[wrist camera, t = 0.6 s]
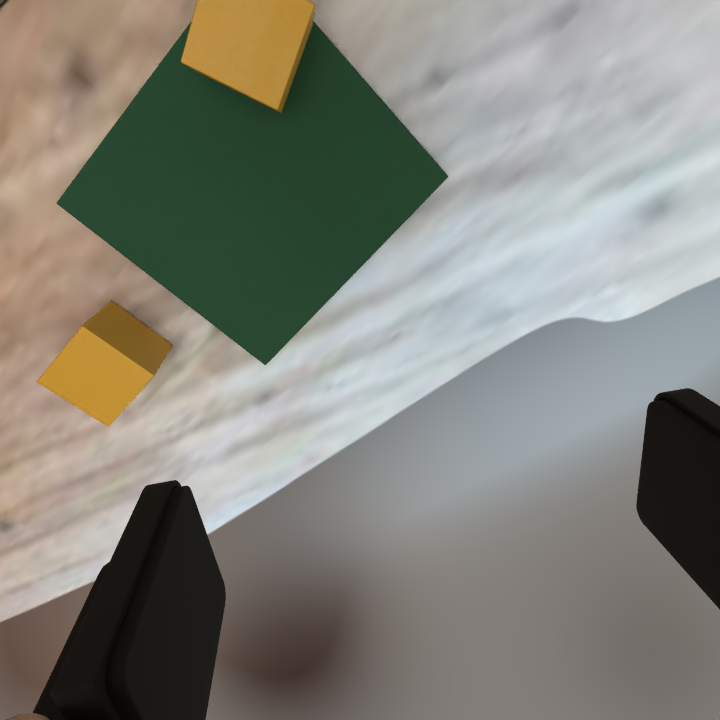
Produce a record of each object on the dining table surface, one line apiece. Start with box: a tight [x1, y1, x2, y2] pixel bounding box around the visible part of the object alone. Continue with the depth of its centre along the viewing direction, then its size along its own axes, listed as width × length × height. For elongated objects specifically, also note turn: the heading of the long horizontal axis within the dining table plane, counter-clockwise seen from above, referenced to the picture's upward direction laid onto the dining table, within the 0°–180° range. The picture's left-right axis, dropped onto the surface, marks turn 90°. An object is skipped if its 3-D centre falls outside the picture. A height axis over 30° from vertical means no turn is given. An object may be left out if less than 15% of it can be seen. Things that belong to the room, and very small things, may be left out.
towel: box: [57, 21, 448, 365], centre depth 38 cm, size 20×22×1 cm
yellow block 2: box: [181, 0, 315, 113], centre depth 31 cm, size 6×6×6 cm
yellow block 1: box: [37, 301, 172, 426], centre depth 40 cm, size 6×6×6 cm
